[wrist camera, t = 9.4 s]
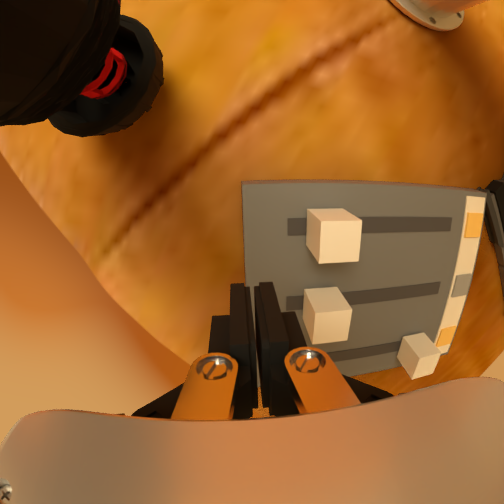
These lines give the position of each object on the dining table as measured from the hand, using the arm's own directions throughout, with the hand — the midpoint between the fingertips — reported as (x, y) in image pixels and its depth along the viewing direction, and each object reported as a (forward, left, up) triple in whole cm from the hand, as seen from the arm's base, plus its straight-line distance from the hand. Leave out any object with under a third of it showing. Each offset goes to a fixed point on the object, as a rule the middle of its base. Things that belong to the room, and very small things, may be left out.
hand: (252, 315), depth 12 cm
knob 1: (0, +7, -12) cm, 14 cm away
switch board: (+7, +13, -15) cm, 21 cm away
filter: (-12, -9, -15) cm, 21 cm away
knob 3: (+14, +18, -12) cm, 26 cm away
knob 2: (+7, +7, -12) cm, 15 cm away
